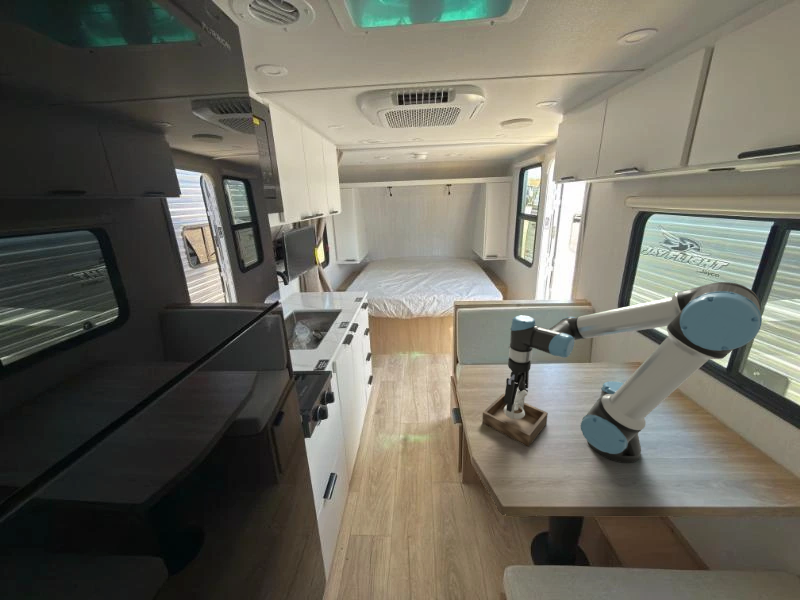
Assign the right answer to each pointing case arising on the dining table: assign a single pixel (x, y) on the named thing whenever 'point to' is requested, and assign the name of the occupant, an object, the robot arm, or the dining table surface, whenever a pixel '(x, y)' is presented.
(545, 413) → the wooden tray
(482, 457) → the dining table surface
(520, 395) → the hook
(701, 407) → the dining table surface
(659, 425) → the dining table surface
